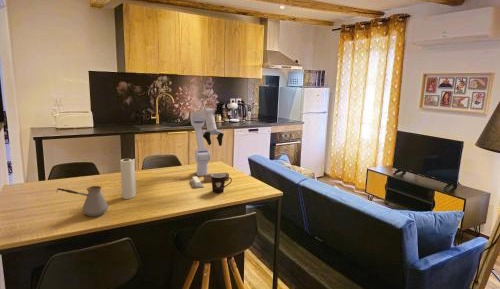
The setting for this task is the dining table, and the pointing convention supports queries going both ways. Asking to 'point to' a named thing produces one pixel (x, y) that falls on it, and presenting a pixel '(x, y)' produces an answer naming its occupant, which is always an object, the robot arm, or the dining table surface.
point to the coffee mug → (218, 182)
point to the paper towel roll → (128, 178)
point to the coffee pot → (92, 201)
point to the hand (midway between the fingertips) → (215, 144)
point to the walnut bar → (208, 177)
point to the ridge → (196, 183)
